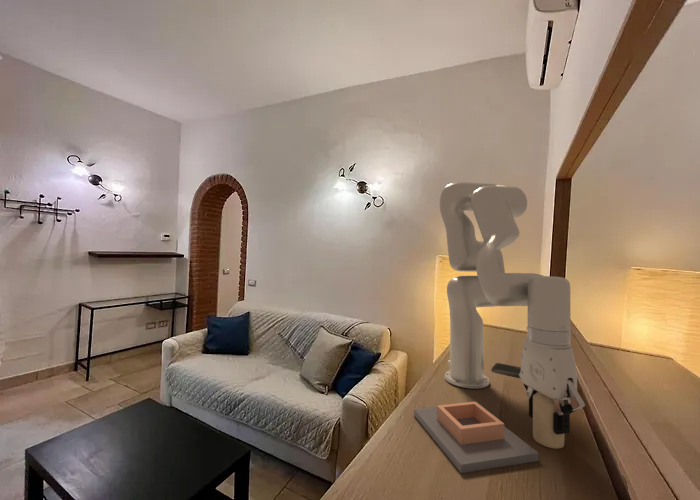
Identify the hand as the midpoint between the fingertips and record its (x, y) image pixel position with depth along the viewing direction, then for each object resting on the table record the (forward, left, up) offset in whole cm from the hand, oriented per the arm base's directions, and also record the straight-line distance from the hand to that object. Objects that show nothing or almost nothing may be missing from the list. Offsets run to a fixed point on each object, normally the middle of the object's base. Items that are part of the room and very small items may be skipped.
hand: (548, 423), depth 65 cm
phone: (-33, +21, -4) cm, 39 cm away
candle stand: (-5, -15, -3) cm, 16 cm away
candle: (0, 0, -4) cm, 4 cm away
